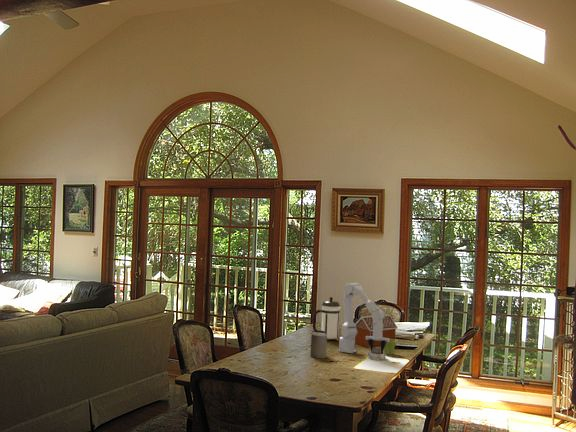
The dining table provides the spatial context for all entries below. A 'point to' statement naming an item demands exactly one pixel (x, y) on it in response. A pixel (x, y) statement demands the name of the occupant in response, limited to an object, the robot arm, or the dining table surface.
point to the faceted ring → (376, 356)
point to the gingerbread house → (366, 329)
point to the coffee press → (329, 319)
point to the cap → (376, 350)
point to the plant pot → (390, 347)
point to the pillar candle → (318, 345)
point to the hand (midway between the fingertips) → (377, 352)
